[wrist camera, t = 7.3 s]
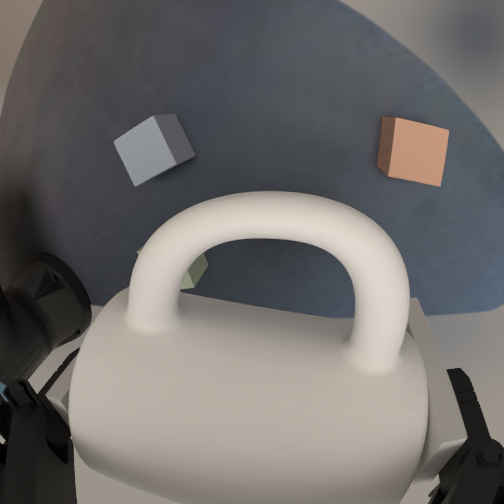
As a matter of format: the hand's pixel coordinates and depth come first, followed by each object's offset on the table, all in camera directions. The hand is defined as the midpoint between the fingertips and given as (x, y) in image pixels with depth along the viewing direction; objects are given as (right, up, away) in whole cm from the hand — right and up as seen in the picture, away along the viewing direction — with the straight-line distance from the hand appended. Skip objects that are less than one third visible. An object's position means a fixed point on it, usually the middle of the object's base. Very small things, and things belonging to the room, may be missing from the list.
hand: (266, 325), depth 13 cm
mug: (0, +1, 0) cm, 1 cm away
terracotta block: (+14, +13, +14) cm, 24 cm away
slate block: (-10, +14, +18) cm, 25 cm away
